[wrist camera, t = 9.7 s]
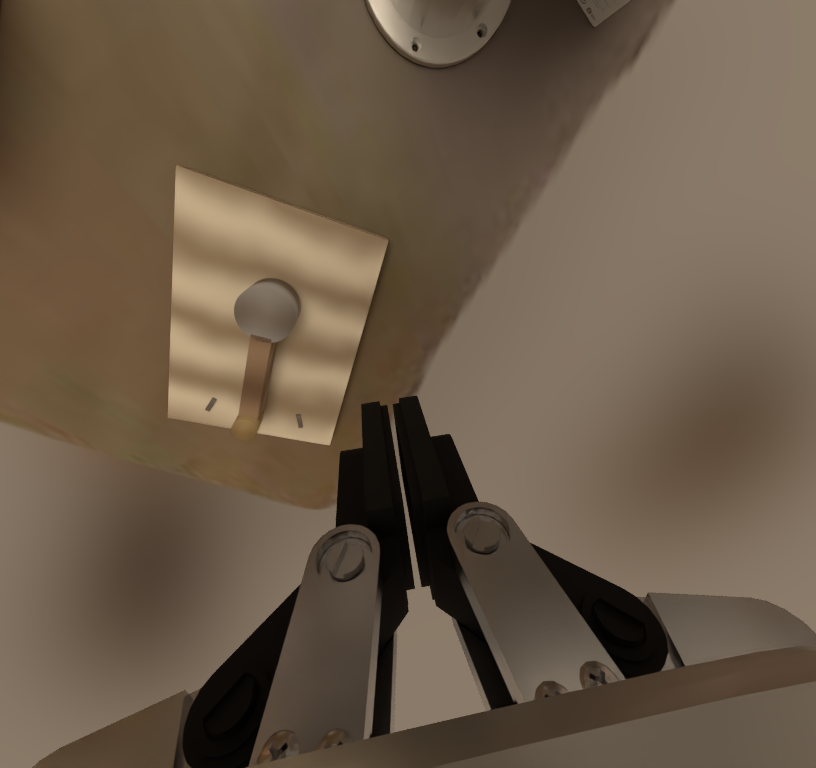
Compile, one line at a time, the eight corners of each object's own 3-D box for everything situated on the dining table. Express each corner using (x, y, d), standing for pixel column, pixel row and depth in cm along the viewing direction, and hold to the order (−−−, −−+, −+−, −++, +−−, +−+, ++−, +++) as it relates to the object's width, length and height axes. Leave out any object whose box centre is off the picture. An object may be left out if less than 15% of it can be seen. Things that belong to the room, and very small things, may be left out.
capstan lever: (250, 270, 31) (233, 281, 27) (305, 287, 32) (297, 300, 28) (229, 422, 38) (213, 450, 34) (275, 430, 39) (265, 458, 35)
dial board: (191, 168, 29) (174, 164, 27) (386, 237, 34) (388, 240, 32) (180, 403, 40) (166, 418, 37) (331, 431, 44) (329, 446, 42)
